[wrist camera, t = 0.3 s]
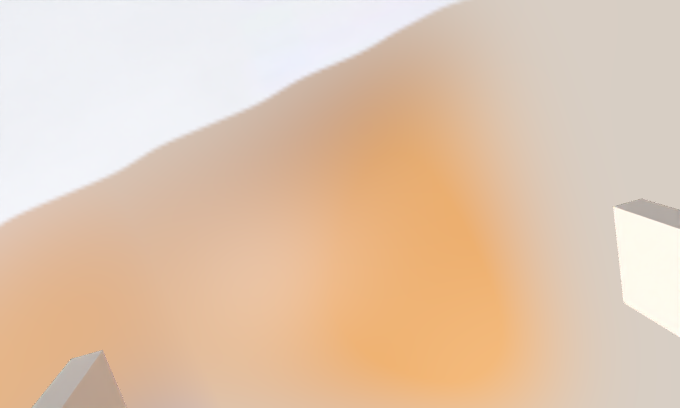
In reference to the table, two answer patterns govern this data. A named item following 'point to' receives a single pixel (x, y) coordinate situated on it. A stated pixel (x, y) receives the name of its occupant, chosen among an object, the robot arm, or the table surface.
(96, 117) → the table surface
